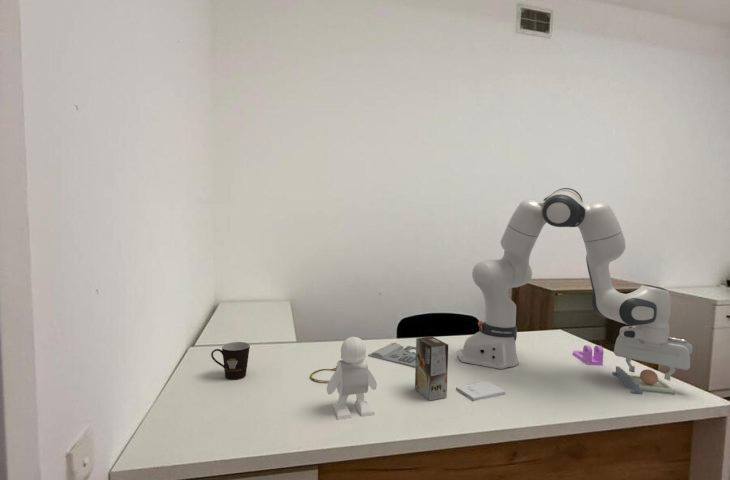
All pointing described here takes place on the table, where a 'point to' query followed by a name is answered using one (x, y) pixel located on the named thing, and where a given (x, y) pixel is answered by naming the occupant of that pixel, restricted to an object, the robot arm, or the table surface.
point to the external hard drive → (480, 390)
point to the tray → (653, 386)
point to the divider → (627, 380)
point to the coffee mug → (234, 359)
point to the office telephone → (396, 354)
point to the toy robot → (352, 378)
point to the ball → (649, 377)
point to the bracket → (590, 355)
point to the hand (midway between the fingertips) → (649, 375)
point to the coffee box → (431, 368)
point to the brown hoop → (321, 380)
